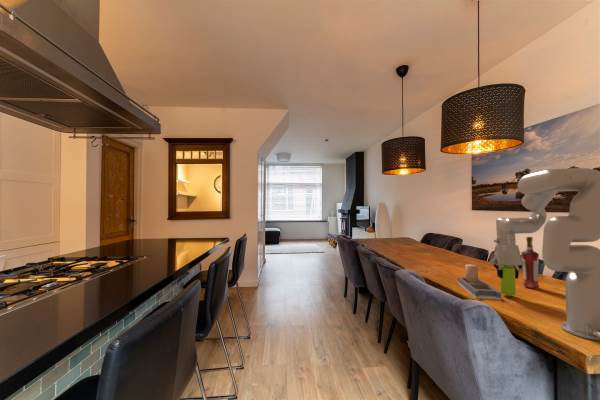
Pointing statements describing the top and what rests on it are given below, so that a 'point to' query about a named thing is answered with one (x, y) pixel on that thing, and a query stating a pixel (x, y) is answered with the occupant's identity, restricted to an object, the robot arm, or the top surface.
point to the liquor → (530, 265)
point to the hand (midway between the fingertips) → (507, 277)
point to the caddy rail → (477, 284)
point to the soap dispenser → (508, 280)
